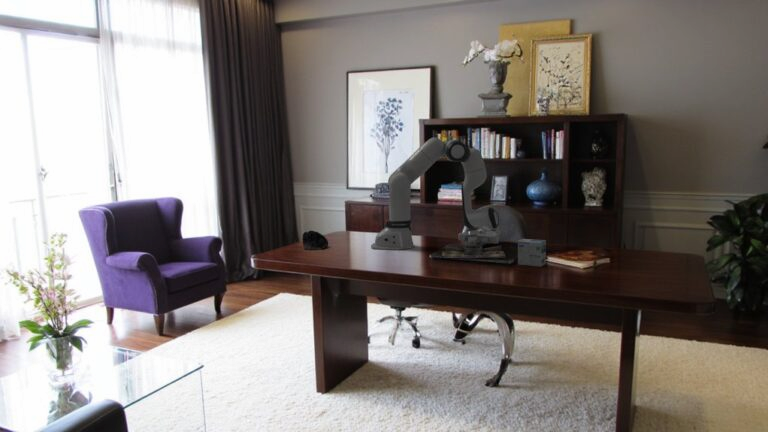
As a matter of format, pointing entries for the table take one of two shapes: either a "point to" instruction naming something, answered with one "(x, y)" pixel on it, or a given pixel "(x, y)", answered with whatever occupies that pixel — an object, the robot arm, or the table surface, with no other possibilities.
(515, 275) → the table surface
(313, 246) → the crystal cluster
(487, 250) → the shaft frame
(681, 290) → the table surface
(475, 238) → the coupling sleeve
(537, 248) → the light bulb box
